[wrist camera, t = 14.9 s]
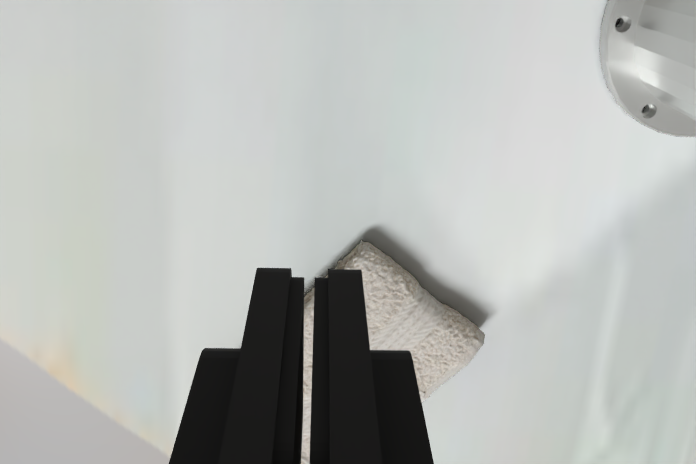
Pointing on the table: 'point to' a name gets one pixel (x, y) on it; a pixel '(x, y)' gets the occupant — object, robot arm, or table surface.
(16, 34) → the table surface
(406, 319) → the washcloth
